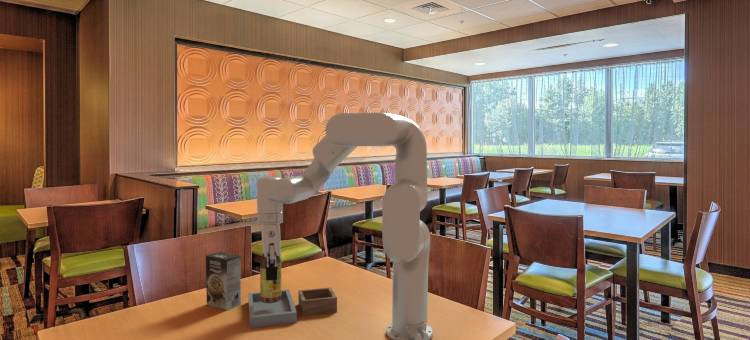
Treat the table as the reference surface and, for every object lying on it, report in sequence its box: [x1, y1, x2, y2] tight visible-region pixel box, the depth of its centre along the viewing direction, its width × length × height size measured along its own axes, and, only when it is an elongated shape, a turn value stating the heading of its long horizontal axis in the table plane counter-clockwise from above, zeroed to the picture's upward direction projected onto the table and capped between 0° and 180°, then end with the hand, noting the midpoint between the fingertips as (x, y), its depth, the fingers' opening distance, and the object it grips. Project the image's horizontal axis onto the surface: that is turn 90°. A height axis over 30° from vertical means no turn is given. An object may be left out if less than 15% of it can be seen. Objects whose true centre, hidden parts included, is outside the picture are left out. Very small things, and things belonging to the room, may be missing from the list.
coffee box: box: [205, 251, 242, 311], centre depth 139 cm, size 9×6×16 cm
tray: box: [247, 288, 298, 329], centre depth 134 cm, size 20×13×3 cm, turn 17°
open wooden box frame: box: [298, 287, 338, 317], centre depth 137 cm, size 10×10×4 cm
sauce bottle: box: [259, 253, 282, 303], centre depth 133 cm, size 7×6×20 cm
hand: (270, 275), depth 133 cm, fingers closed on sauce bottle, 6 cm apart
